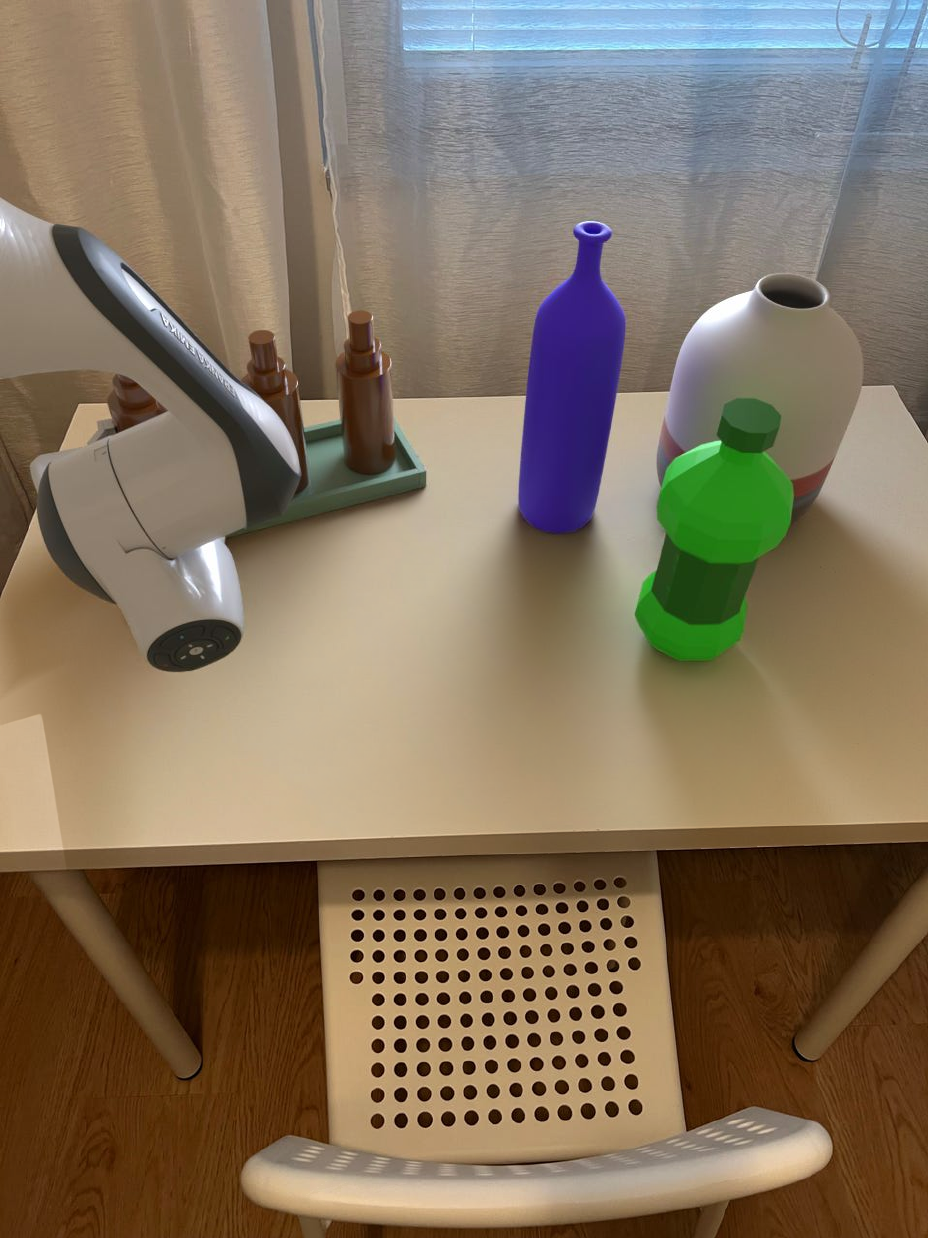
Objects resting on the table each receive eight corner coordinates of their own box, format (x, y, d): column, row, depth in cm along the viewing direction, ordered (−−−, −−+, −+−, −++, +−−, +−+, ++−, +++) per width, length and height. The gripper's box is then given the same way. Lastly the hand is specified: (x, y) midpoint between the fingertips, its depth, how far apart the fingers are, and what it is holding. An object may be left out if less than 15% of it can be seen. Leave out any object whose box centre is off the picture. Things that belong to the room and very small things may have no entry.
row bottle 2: (353, 480, 99) (341, 337, 86) (337, 449, 102) (323, 307, 89) (402, 467, 100) (397, 326, 87) (385, 437, 104) (378, 296, 91)
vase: (763, 435, 106) (829, 234, 88) (841, 536, 96) (934, 330, 78) (624, 459, 103) (664, 254, 85) (689, 566, 92) (750, 358, 75)
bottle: (598, 537, 95) (650, 256, 72) (516, 535, 95) (543, 253, 72) (592, 483, 100) (639, 206, 78) (515, 481, 100) (538, 202, 78)
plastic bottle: (703, 586, 91) (774, 363, 72) (759, 668, 84) (853, 447, 65) (608, 609, 88) (656, 385, 70) (658, 695, 82) (725, 474, 63)
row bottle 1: (265, 502, 96) (239, 359, 83) (251, 469, 99) (224, 327, 87) (316, 489, 98) (299, 346, 85) (301, 457, 101) (282, 315, 88)
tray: (122, 565, 91) (116, 549, 89) (103, 490, 98) (97, 475, 96) (426, 486, 99) (426, 470, 98) (389, 423, 106) (388, 407, 105)
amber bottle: (143, 521, 92) (96, 372, 79) (134, 486, 95) (87, 338, 82) (200, 507, 93) (162, 359, 80) (188, 473, 97) (150, 326, 84)
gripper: (282, 459, 80) (249, 369, 88) (28, 511, 75) (19, 410, 83) (290, 514, 84) (259, 424, 93) (52, 566, 79) (42, 466, 88)
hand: (144, 418), depth 88 cm, fingers closed on amber bottle, 5 cm apart
